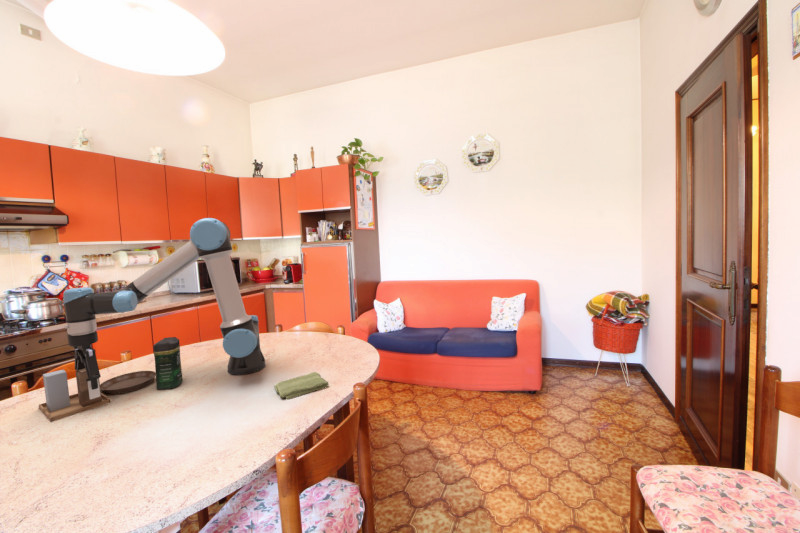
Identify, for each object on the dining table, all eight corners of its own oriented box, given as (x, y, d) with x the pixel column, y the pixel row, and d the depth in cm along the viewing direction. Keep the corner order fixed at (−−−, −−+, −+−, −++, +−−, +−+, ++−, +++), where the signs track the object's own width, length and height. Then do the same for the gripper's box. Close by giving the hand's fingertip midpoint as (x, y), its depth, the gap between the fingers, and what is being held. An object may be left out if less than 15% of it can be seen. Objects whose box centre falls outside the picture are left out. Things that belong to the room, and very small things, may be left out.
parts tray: (110, 403, 121) (110, 399, 121) (51, 422, 109) (50, 418, 109) (95, 392, 131) (95, 388, 131) (39, 408, 119) (38, 404, 118)
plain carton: (70, 405, 120) (66, 371, 119) (50, 411, 116) (45, 377, 115) (66, 402, 122) (62, 369, 121) (47, 408, 118) (42, 374, 117)
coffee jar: (178, 388, 131) (173, 341, 130) (153, 392, 129) (149, 343, 127) (185, 379, 141) (181, 334, 139) (163, 382, 138) (158, 336, 137)
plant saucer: (87, 399, 125) (86, 391, 125) (118, 379, 143) (118, 372, 142) (140, 394, 128) (139, 386, 128) (165, 375, 145) (164, 368, 145)
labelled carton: (101, 401, 122) (98, 367, 121) (83, 407, 118) (79, 372, 117) (97, 398, 125) (94, 365, 124) (79, 404, 121) (75, 370, 119)
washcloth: (272, 389, 129) (272, 381, 129) (318, 377, 139) (317, 369, 138) (281, 402, 118) (281, 393, 118) (330, 388, 128) (330, 380, 128)
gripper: (58, 330, 123) (65, 389, 125) (78, 340, 109) (85, 406, 111) (86, 326, 129) (92, 382, 131) (107, 334, 115) (114, 397, 117)
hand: (89, 393), depth 121 cm, fingers open, 11 cm apart
